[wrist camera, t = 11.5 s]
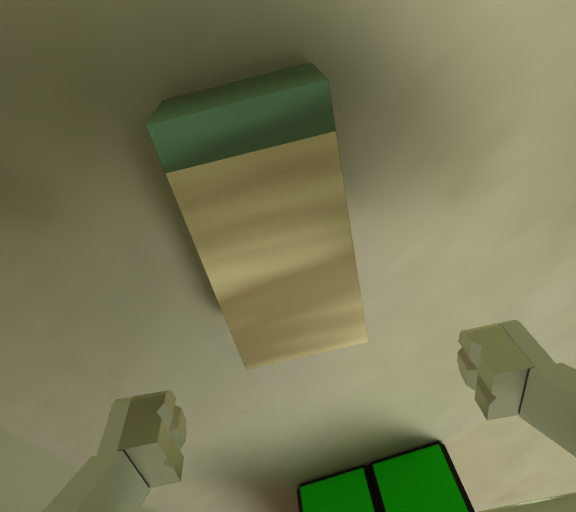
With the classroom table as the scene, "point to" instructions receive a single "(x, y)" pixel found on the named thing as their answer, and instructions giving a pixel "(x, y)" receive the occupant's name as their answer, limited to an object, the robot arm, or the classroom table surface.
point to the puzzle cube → (391, 486)
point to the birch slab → (267, 210)
